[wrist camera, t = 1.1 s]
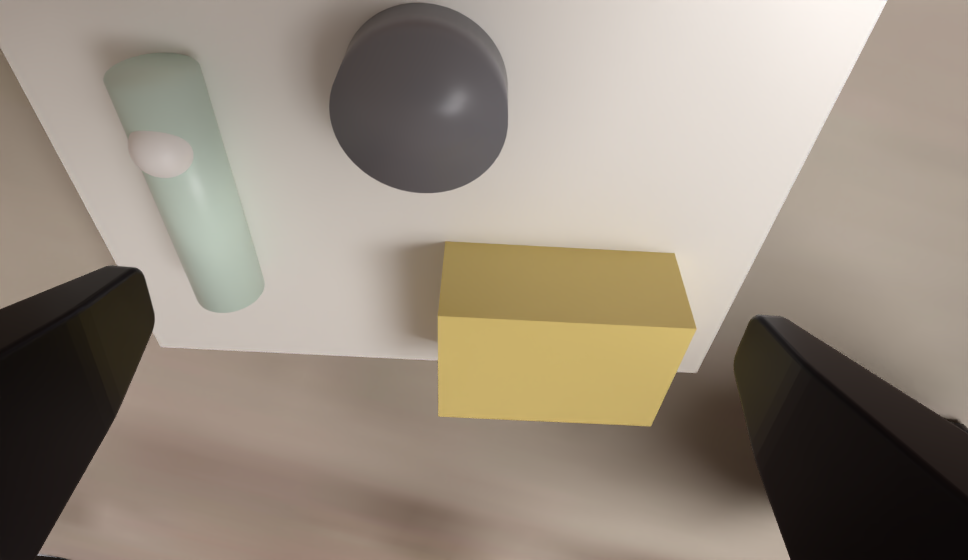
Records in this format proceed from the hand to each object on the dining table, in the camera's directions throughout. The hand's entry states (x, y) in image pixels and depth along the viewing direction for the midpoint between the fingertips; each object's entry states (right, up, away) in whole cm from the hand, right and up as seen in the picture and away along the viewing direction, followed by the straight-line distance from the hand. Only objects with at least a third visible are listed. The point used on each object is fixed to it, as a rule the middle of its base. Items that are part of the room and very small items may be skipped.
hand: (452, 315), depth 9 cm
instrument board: (-1, +3, +10) cm, 10 cm away
